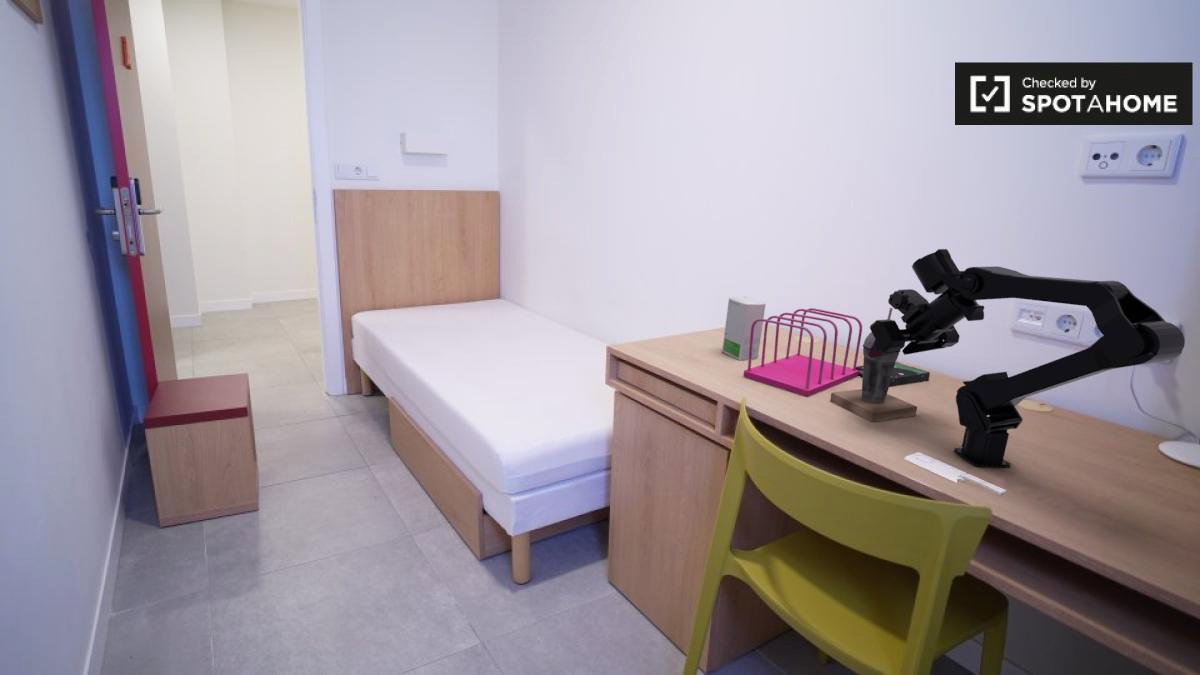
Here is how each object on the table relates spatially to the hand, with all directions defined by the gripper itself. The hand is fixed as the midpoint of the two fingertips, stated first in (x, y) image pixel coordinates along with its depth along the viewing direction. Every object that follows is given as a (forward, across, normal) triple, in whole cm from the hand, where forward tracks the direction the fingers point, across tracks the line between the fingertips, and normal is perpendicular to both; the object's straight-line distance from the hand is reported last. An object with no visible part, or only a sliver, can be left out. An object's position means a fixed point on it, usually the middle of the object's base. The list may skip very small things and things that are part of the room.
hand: (886, 354), depth 126 cm
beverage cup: (+9, 0, +6) cm, 11 cm away
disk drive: (+22, -22, -3) cm, 31 cm away
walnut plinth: (+10, 0, +8) cm, 13 cm away
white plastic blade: (-9, +11, +28) cm, 32 cm away
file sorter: (+26, +1, -8) cm, 27 cm away
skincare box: (+40, +5, -22) cm, 45 cm away
